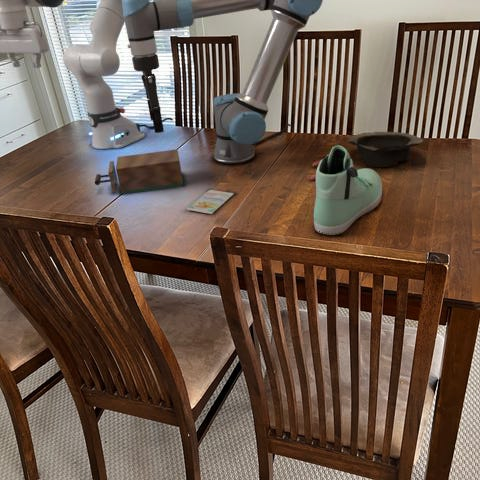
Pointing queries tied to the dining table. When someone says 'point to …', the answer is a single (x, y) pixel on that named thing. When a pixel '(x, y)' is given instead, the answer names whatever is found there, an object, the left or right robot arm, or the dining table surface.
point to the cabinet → (149, 171)
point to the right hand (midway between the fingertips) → (157, 125)
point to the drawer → (111, 175)
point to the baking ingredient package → (210, 201)
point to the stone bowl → (384, 147)
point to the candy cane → (315, 173)
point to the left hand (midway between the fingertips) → (27, 67)
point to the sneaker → (343, 192)
